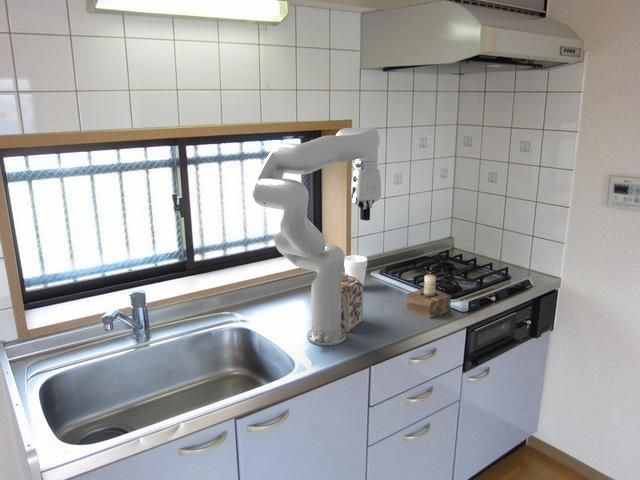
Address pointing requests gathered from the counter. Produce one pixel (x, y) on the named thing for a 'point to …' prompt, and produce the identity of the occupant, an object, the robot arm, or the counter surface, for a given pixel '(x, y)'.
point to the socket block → (428, 303)
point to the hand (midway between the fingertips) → (365, 219)
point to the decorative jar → (351, 302)
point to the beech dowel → (429, 285)
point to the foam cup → (356, 267)
